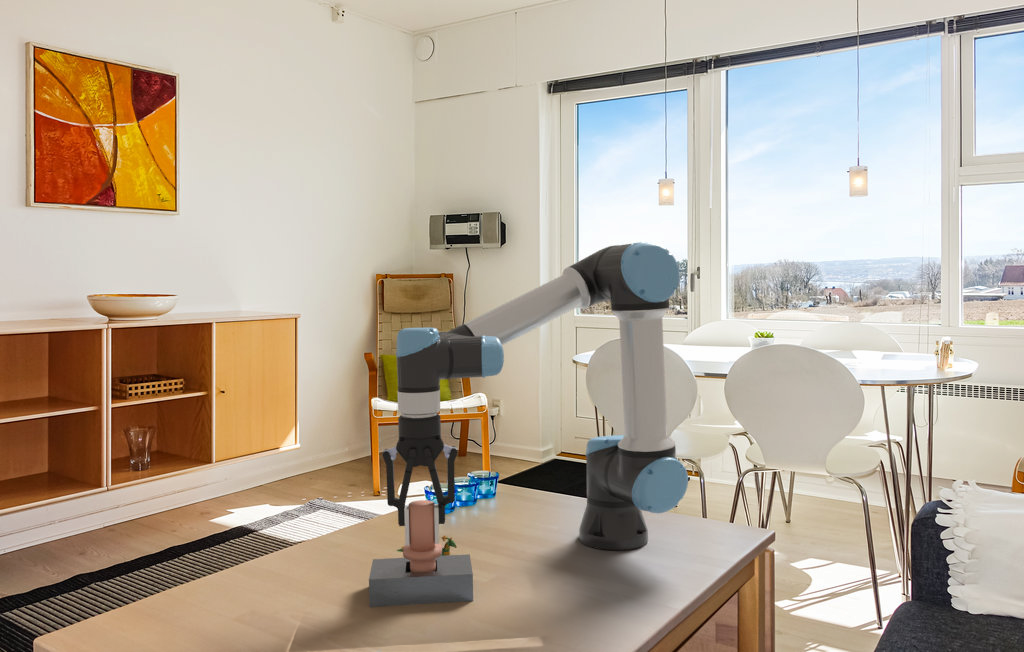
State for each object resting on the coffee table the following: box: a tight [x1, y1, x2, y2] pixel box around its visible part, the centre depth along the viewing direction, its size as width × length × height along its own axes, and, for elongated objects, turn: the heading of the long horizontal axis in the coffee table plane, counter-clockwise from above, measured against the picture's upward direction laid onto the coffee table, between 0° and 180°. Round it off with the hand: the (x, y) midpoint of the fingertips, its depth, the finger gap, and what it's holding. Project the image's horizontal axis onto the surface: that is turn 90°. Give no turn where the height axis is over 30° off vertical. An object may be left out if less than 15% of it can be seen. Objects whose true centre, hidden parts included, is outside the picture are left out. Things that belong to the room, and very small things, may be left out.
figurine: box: [396, 535, 458, 556], centre depth 152 cm, size 3×12×8 cm, turn 103°
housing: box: [368, 553, 474, 608], centre depth 138 cm, size 18×10×6 cm, turn 96°
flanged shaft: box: [402, 499, 443, 573], centre depth 138 cm, size 7×7×14 cm
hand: (422, 542), depth 138 cm, fingers closed on flanged shaft, 5 cm apart
